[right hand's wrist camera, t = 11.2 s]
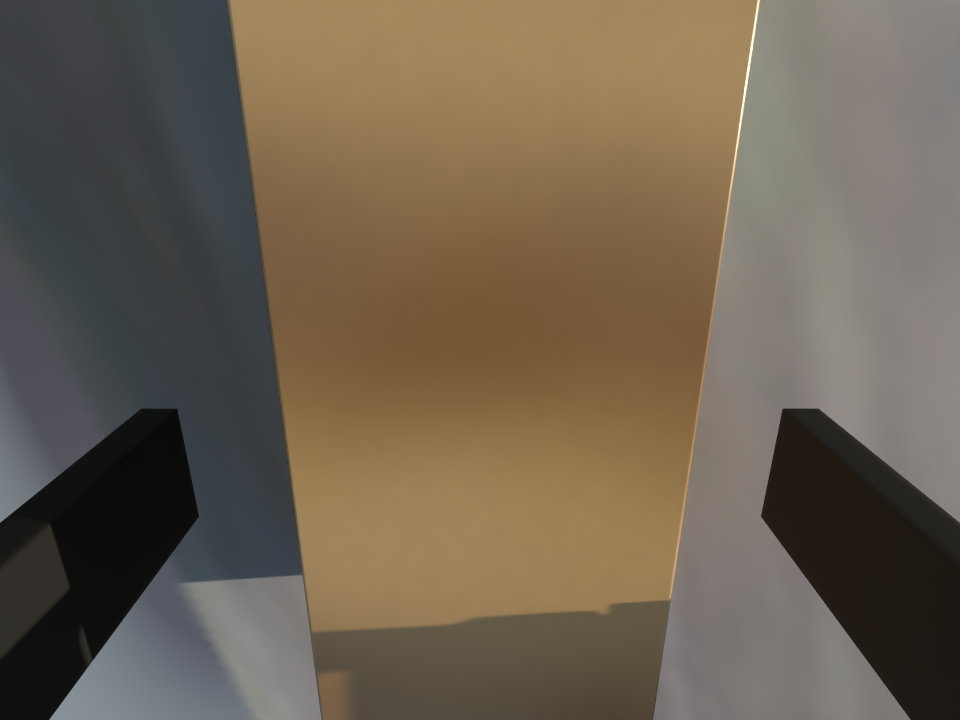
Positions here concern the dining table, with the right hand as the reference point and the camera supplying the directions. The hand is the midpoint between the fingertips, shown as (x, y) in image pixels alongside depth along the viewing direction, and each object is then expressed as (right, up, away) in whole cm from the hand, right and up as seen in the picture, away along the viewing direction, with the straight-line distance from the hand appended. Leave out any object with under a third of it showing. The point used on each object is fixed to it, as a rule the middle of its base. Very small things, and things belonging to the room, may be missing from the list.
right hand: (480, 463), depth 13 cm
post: (0, +30, -8) cm, 31 cm away
